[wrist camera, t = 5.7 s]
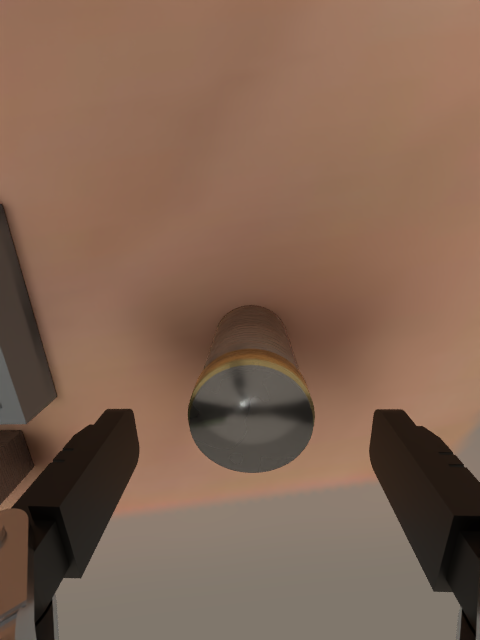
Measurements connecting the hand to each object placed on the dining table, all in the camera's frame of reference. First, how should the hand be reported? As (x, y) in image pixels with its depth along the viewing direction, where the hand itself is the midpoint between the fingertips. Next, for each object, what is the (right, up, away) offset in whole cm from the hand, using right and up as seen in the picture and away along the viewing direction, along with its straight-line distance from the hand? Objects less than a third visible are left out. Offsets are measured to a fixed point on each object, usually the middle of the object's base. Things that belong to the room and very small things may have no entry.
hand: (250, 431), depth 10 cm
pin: (0, +3, +6) cm, 7 cm away
